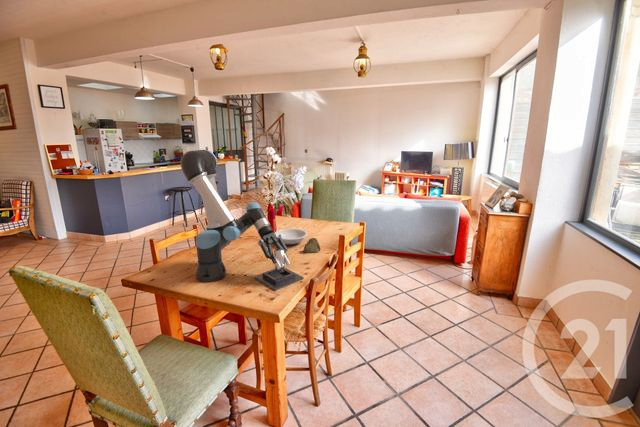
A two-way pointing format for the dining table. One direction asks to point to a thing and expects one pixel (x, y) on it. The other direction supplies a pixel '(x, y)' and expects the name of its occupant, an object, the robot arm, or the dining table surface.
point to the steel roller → (280, 259)
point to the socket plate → (278, 278)
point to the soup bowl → (291, 235)
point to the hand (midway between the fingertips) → (284, 266)
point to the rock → (312, 246)
